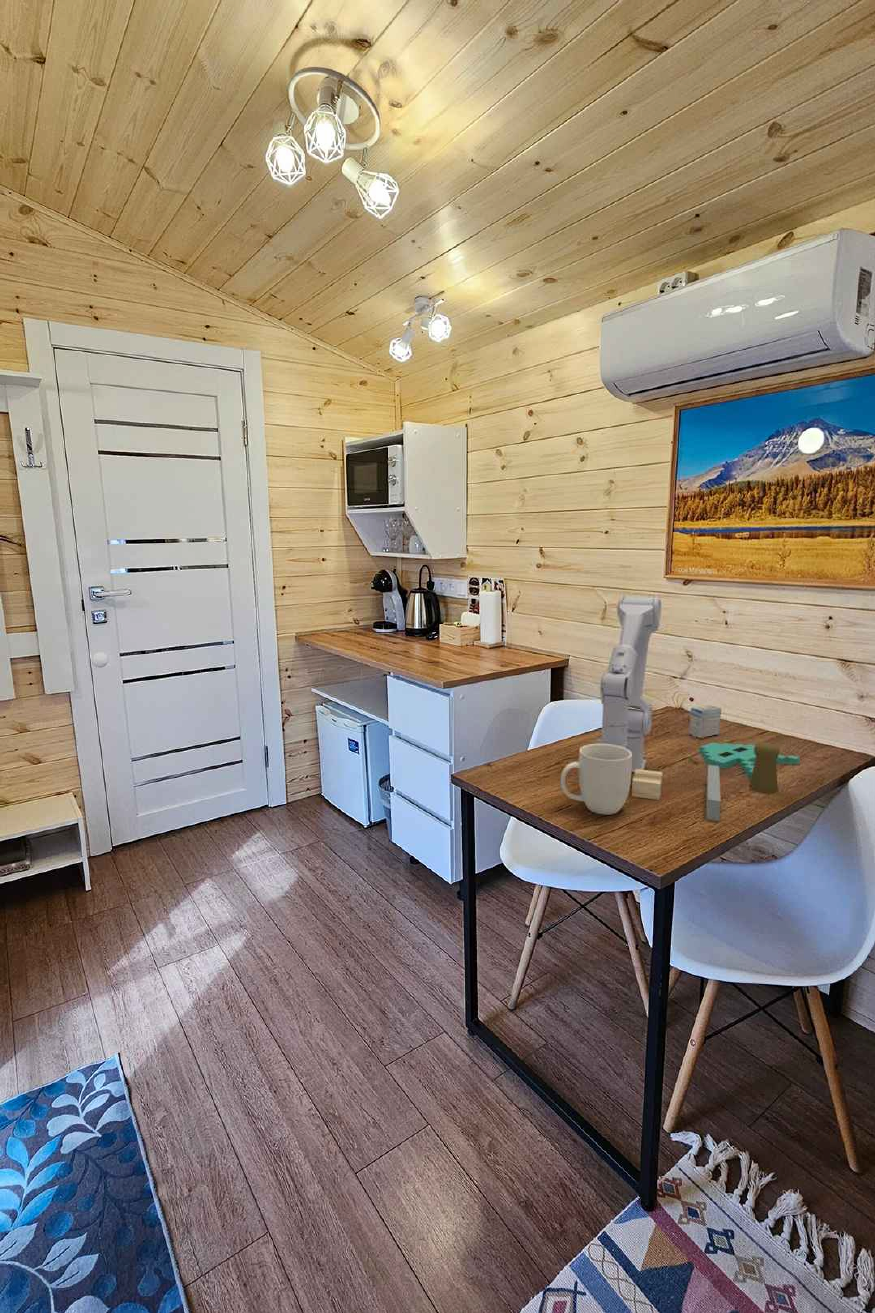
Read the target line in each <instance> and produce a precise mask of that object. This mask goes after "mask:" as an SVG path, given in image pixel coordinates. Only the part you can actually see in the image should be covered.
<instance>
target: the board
mask: <svg viewBox="0 0 875 1313" xmlns="http://www.w3.org/2000/svg"><path fill="white" fill-rule="evenodd" d="M720 781H721V778H720V769H719V766H713V765H707V777H706V820H708V821H713V822H720V813H721V803H722V802H721V782H720Z"/></svg>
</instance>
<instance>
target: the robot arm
mask: <svg viewBox="0 0 875 1313" xmlns="http://www.w3.org/2000/svg"><path fill="white" fill-rule="evenodd" d="M616 607H617V608H616V614H617V617H618V620H619V623H620V626H621V632H620V638H619V643H618V644H619V645H618V646H616V647H614V648H613V650H612V653H611V656H610V660H609V663H608V667H607V671H606V673H603V674H602V676H601V679H600V684H599V687H600V688H599V691H600V692H599V693H600V700H601V701H600V702H601V704H602V719H601V720H602V724H601V738H597V739H596V742H595V744H611V745H617V746H621V747H624V748H626V749H628V750H629V751H630V752H631V753H632V768H631V770H632V771H631V773H635V770H636V769H640V770H645V767H646V763H647V760H646V759H644V740H645V736H647V735H648V734H649V733H650V732H651V728H652V723H653V719H652V718H653V717H652V712H653V709H652V708H653V707H652V705H651V704H650V702H648V701H647V700H646V699H645V698H644V697H643V690H644V683H645V674H646V667H647V658H648V650H649V642H650V639H651V636H652V634H653V633H656V632H658V631H659V627H660V622H661V616H662V615H661V614H662V600H661V599H660V597H659V596H629V595H627V596H626V595H621V596H620V597H619V599H618V602H617V606H616Z"/></svg>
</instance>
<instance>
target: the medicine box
mask: <svg viewBox="0 0 875 1313" xmlns="http://www.w3.org/2000/svg"><path fill="white" fill-rule="evenodd" d="M690 708H691V709H690V719H689V732H688V735H689V734H691V735H693V736H698V737H704V736H711V735H715V734H718V733H719V734H720V729H721V720H722V719H721V716H722V708H721V707H718V706H715V705H711V704H707V705H701V706H699V705H698V706H695V707H690ZM693 736H692V737H693Z"/></svg>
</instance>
